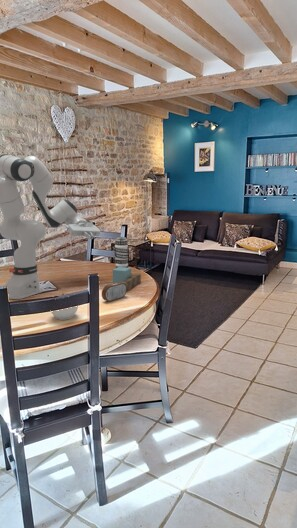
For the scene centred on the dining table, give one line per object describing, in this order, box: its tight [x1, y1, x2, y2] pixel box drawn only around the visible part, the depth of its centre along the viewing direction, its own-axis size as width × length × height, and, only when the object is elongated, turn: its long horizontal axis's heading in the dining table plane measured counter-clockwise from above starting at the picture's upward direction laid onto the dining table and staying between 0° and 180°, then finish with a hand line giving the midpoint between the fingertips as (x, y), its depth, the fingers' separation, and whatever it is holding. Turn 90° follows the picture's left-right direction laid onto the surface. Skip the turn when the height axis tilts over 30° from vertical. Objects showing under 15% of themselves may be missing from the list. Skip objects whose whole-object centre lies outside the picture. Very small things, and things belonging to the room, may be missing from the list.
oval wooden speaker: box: [101, 282, 128, 302], centre depth 180 cm, size 15×3×8 cm, turn 136°
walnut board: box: [122, 273, 142, 293], centre depth 202 cm, size 22×3×5 cm, turn 159°
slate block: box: [112, 267, 132, 283], centre depth 204 cm, size 8×8×10 cm
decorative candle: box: [113, 236, 130, 268], centre depth 223 cm, size 9×9×25 cm
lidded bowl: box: [50, 292, 79, 321], centre depth 156 cm, size 13×13×11 cm
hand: (91, 237), depth 201 cm, fingers closed
